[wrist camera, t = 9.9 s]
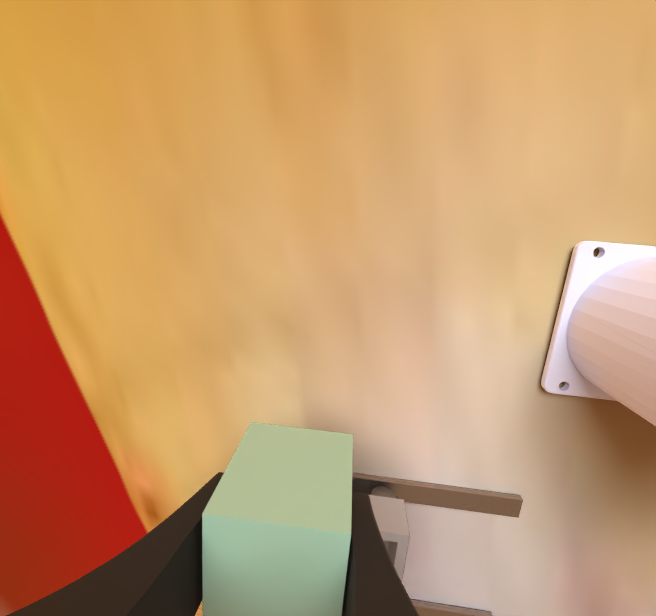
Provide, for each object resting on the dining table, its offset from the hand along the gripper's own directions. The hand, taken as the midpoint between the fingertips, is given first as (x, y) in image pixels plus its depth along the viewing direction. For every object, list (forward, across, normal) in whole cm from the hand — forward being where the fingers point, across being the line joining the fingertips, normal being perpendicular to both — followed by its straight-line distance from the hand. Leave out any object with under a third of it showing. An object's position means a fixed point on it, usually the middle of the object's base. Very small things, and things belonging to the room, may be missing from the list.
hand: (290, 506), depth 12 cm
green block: (+2, 0, 0) cm, 2 cm away
